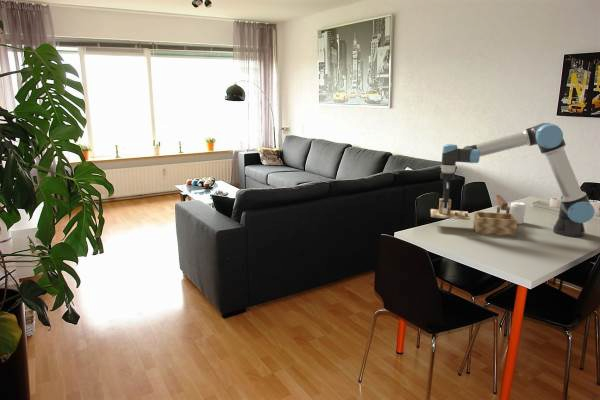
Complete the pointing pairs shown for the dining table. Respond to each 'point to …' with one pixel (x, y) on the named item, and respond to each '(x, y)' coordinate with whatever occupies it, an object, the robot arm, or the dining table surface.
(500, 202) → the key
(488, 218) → the wicker basket
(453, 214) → the lid
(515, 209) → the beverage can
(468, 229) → the dining table surface
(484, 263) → the dining table surface
